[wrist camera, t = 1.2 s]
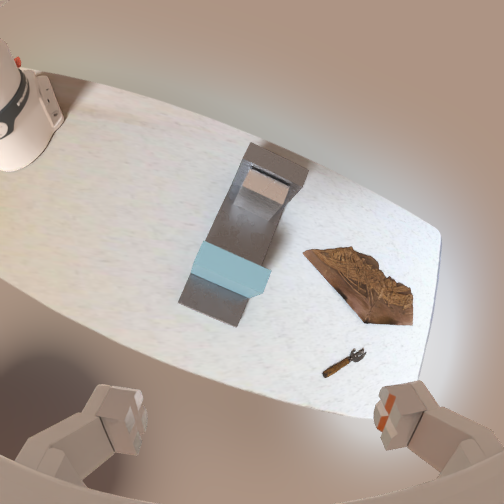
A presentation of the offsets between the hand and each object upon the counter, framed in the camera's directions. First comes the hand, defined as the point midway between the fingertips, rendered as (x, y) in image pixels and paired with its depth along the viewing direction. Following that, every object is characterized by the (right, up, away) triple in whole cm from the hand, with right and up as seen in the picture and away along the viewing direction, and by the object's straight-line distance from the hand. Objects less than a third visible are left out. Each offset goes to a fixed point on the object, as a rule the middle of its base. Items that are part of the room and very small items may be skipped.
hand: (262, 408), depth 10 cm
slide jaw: (-4, +2, +36) cm, 36 cm away
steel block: (0, +12, +40) cm, 42 cm away
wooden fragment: (+19, -1, +44) cm, 48 cm away
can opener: (+15, -13, +40) cm, 45 cm away
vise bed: (-3, +7, +40) cm, 40 cm away
